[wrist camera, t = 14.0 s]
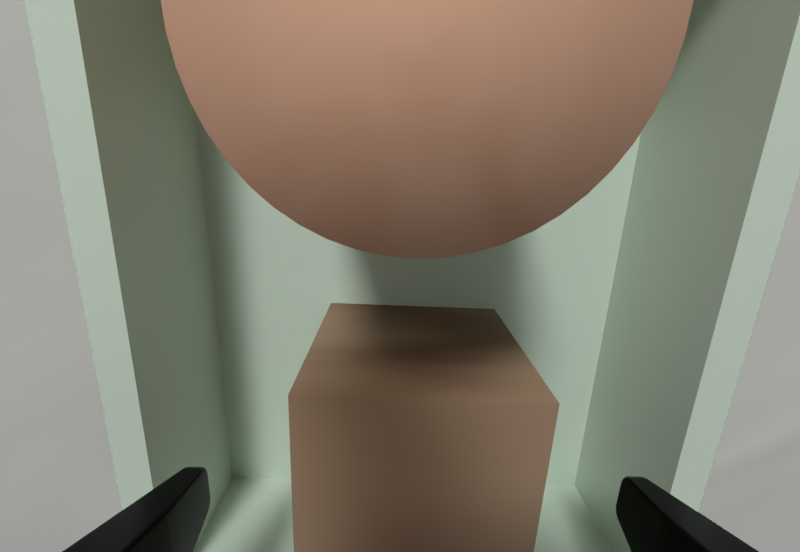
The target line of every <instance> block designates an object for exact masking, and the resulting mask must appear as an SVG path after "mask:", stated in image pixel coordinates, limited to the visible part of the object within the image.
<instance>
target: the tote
mask: <svg viewBox="0 0 800 552" xmlns="http://www.w3.org/2000/svg"><path fill="white" fill-rule="evenodd" d="M24 2H25V7H26V12H27V18H28V23H29V28H30V33H31V39H32V44H33V49H34V54H35V59H36V65H37V70H38V75H39V80H40V85H41V91H42V96H43V101H44V106H45V112H46V117H47V122H48V127H49V132H50V138H51V143H52V148H53V153H54V159H55V164H56V169H57V174H58V179H59V185H60V190H61V195H62V200H63V205H64V211H65V216H66V221H67V226H68V232H69V237H70V242H71V247H72V252H73V258H74V263H75V268H76V273H77V278H78V284H79V289H80V294H81V299H82V305H83V310H84V315H85V320H86V325H87V331H88V336H89V341H90V346H91V352H92V357H93V362H94V367H95V372H96V378H97V383H98V388H99V393H100V398H101V404H102V409H103V414H104V419H105V425H106V430H107V435H108V440H109V445H110V451H111V456H112V461H113V466H114V471H115V477H116V482H117V487H118V492H119V498H120V503H121V508H122V510H124V509H125V508H127V507H128V506H129V505H131V504H132V503H134V502H135V501H137V500H138V499H140V498H141V497H142V496H144V495H145V494H147V493H148V492H150V491H151V490H153V489H154V488H155V487H157V486H158V485H160V484H161V483H163V482H164V481H166V480H167V479H169V478H170V477H171V476H173V475H174V474H176V473H177V472H179V471H180V470H182V469H183V468H185V467H204V468H206V470H207V473H208V480H209V489H210V507H209V510H208V513H207V516H206V519H205V521H204V524H203V527H202V529H201V532H200V535H199V537H198V540H197V543H196V545H195V548H194V551H193V552H294V543H293V516H292V489H291V462H290V435H289V408H288V394H289V392H290V390H291V388H292V385H293V383H294V381H295V379H296V377H297V375H298V373H299V370H300V368H301V366H302V364H303V362H304V360H305V358H306V355H307V353H308V351H309V349H310V347H311V345H312V343H313V341H314V338H315V336H316V334H317V332H318V330H319V328H320V326H321V323H322V321H323V319H324V317H325V315H326V313H327V311H328V308H329V306H330V304H331V303H347V304H373V305H400V306H427V307H453V308H480V309H495V311H496V312H497V314H498V315H499V316H500V318H501V319H502V321H503V322H504V324H505V325H506V327H507V328H508V330H509V331H510V332H511V334H512V335H513V337H514V338H515V340H516V341H517V343H518V344H519V346H520V347H521V348H522V350H523V351H524V353H525V354H526V356H527V357H528V359H529V360H530V361H531V363H532V364H533V366H534V367H535V369H536V370H537V372H538V373H539V375H540V376H541V377H542V379H543V380H544V382H545V383H546V385H547V386H548V388H549V389H550V390H551V392H552V393H553V395H554V396H555V398H556V399H557V401H558V402H559V410H558V416H557V422H556V427H555V433H554V439H553V445H552V450H551V456H550V462H549V467H548V473H547V479H546V485H545V490H544V496H543V502H542V508H541V513H540V519H539V525H538V530H537V536H536V542H535V548H534V552H631V550H630V548H629V545H628V543H627V540H626V538H625V536H624V533H623V531H622V528H621V526H620V523H619V521H618V518H617V515H616V503H617V498H618V494H619V489H620V485H621V481H622V479H623V478H624V477H626V476H640V477H644V478H646V479H648V480H650V481H651V482H653V483H654V484H656V485H657V486H659V487H660V488H662V489H663V490H665V491H667V492H668V493H670V494H671V495H673V496H674V497H676V498H677V499H679V500H680V501H682V502H683V503H685V504H686V505H688V506H690V507H691V508H693V509H694V510H696V511H697V512H698V511H699V508H700V505H701V501H702V498H703V495H704V491H705V488H706V485H707V481H708V478H709V475H710V471H711V468H712V465H713V461H714V458H715V455H716V451H717V448H718V444H719V441H720V438H721V434H722V431H723V428H724V424H725V421H726V418H727V414H728V411H729V408H730V404H731V401H732V398H733V394H734V391H735V388H736V384H737V381H738V378H739V374H740V371H741V368H742V364H743V361H744V358H745V354H746V351H747V348H748V344H749V341H750V338H751V334H752V331H753V327H754V324H755V321H756V317H757V314H758V311H759V307H760V304H761V301H762V297H763V294H764V291H765V287H766V284H767V281H768V277H769V274H770V271H771V267H772V264H773V261H774V257H775V254H776V251H777V247H778V244H779V241H780V237H781V234H782V231H783V227H784V224H785V221H786V217H787V214H788V210H789V207H790V204H791V200H792V197H793V194H794V190H795V187H796V184H797V180H798V177H799V174H800V0H693V5H692V9H691V13H690V18H689V22H688V26H687V30H686V34H685V39H684V42H683V45H682V48H681V51H680V53H679V56H678V59H677V62H676V65H675V67H674V70H673V73H672V76H671V78H670V80H669V82H668V84H667V86H666V89H665V91H664V93H663V95H662V97H661V99H660V101H659V103H658V105H657V107H656V109H655V111H654V113H653V114H652V116H651V117H650V119H649V121H648V122H647V124H646V125H645V127H644V128H643V130H642V132H641V133H640V135H639V136H638V138H637V139H636V141H635V142H634V144H633V145H632V146H631V147H630V149H629V150H628V151H627V152H626V154H625V155H624V156H623V157H622V159H621V160H620V161H619V162H618V164H617V165H616V166H615V167H614V168H613V170H612V171H611V172H610V173H609V174H608V175H607V176H606V177H605V178H604V179H603V180H602V181H601V182H600V183H598V184H597V185H596V186H595V187H594V188H593V189H592V190H591V191H590V192H589V193H588V194H587V195H586V196H585V197H583V198H582V199H581V200H579V201H578V202H577V203H576V204H574V205H573V206H572V207H570V208H569V209H568V210H566V211H565V212H564V213H563V214H561V215H560V216H558V217H556V218H555V219H553V220H551V221H550V222H548V223H546V224H545V225H543V226H541V227H540V228H538V229H536V230H534V231H533V232H530V233H528V234H526V235H524V236H521V237H519V238H517V239H514V240H512V241H510V242H508V243H505V244H502V245H499V246H496V247H492V248H489V249H486V250H482V251H479V252H476V253H470V254H464V255H458V256H452V257H446V258H424V259H412V258H401V257H390V256H383V255H378V254H374V253H369V252H365V251H360V250H356V249H353V248H350V247H347V246H345V245H342V244H339V243H336V242H334V241H331V240H328V239H326V238H324V237H322V236H320V235H318V234H316V233H314V232H312V231H310V230H308V229H306V228H304V227H302V226H300V225H299V224H297V223H296V222H294V221H293V220H291V219H290V218H289V217H287V216H286V215H284V214H283V213H281V212H280V211H278V210H277V209H275V208H274V207H273V206H271V205H270V204H269V203H268V202H267V201H266V200H265V199H263V198H262V197H261V196H260V195H259V194H258V193H257V192H255V191H254V190H253V189H252V188H251V187H250V186H249V185H248V184H247V183H246V182H245V181H244V180H243V179H242V177H241V176H240V175H239V174H238V173H237V172H236V171H235V170H234V169H233V167H232V166H231V165H230V164H229V163H228V162H227V161H226V159H225V158H224V156H223V155H222V154H221V152H220V151H219V149H218V148H217V146H216V145H215V144H214V142H213V141H212V139H211V138H210V137H209V135H208V134H207V132H206V130H205V128H204V127H203V125H202V123H201V121H200V119H199V117H198V116H197V114H196V112H195V110H194V108H193V107H192V105H191V103H190V101H189V98H188V96H187V93H186V91H185V88H184V86H183V84H182V81H181V79H180V76H179V74H178V71H177V69H176V66H175V62H174V59H173V55H172V52H171V48H170V45H169V41H168V38H167V34H166V30H165V24H164V18H163V12H162V6H161V0H24Z"/></svg>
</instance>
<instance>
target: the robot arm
mask: <svg viewBox="0 0 800 552" xmlns="http://www.w3.org/2000/svg"><path fill="white" fill-rule="evenodd" d="M209 507H210V489H209V480H208V473H207V470H206V468H204V467H185V468H183V469H182V470H180V471H179V472H177V473H176V474H174V475H173V476H171V477H170V478H169V479H167V480H166V481H164V482H163V483H161V484H160V485H158V486H157V487H155V488H154V489H153V490H151V491H150V492H148V493H147V494H145V495H144V496H142V497H141V498H140V499H138V500H137V501H135V502H134V503H132V504H131V505H129V506H128V507H127V508H125V509H124V510H122V511H121V512H119V513H118V514H116V515H115V516H113V517H112V518H111V519H109V520H108V521H106V522H105V523H103V524H102V525H100V526H99V527H98V528H96V529H95V530H93V531H92V532H90V533H89V534H87V535H86V536H85V537H83V538H82V539H80V540H79V541H77V542H76V543H74V544H73V545H71V546H70V547H69V548H67V549H66V550H64V551H63V552H193V551H194V548H195V545H196V543H197V540H198V537H199V535H200V532H201V529H202V527H203V524H204V521H205V519H206V516H207V513H208V510H209ZM616 515H617V518H618V521H619V523H620V526H621V528H622V531H623V533H624V536H625V538H626V540H627V543H628V545H629V548H630V550H631V552H758V551H757V550H755V549H754V548H752V547H751V546H749V545H748V544H746V543H745V542H743V541H742V540H740V539H739V538H737V537H735V536H734V535H732V534H731V533H729V532H728V531H726V530H725V529H723V528H722V527H720V526H719V525H717V524H716V523H714V522H712V521H711V520H709V519H708V518H706V517H705V516H703V515H702V514H700V513H699V512H697V511H696V510H694V509H693V508H691V507H690V506H688V505H686V504H685V503H683V502H682V501H680V500H679V499H677V498H676V497H674V496H673V495H671V494H670V493H668V492H667V491H665V490H663V489H662V488H660V487H659V486H657V485H656V484H654V483H653V482H651V481H650V480H648V479H646V478H644V477H640V476H626V477H624V478H623V479H622V481H621V485H620V489H619V494H618V498H617V503H616Z"/></svg>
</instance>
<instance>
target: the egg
mask: <svg viewBox="0 0 800 552" xmlns="http://www.w3.org/2000/svg"><path fill="white" fill-rule="evenodd" d="M692 5H693V0H161V6H162V12H163V18H164V24H165V30H166V34H167V38H168V41H169V45H170V48H171V52H172V55H173V59H174V62H175V66H176V69H177V71H178V74H179V76H180V79H181V81H182V84H183V86H184V88H185V91H186V93H187V96H188V98H189V101H190V103H191V105H192V107H193V108H194V110H195V112H196V114H197V116H198V117H199V119H200V121H201V123H202V125H203V127H204V128H205V130H206V132H207V134H208V135H209V137H210V138H211V139H212V141H213V142H214V144H215V145H216V146H217V148H218V149H219V151H220V152H221V154H222V155H223V156H224V158H225V159H226V161H227V162H228V163H229V164H230V165H231V166H232V167H233V169H234V170H235V171H236V172H237V173H238V174H239V175H240V176H241V177H242V179H243V180H244V181H245V182H246V183H247V184H248V185H249V186H250V187H251V188H252V189H253V190H254V191H255V192H257V193H258V194H259V195H260V196H261V197H262V198H263V199H265V200H266V201H267V202H268V203H269V204H270V205H271V206H273V207H274V208H275V209H277V210H278V211H280V212H281V213H283V214H284V215H286V216H287V217H289V218H290V219H291V220H293V221H294V222H296V223H297V224H299V225H300V226H302V227H304V228H306V229H308V230H310V231H312V232H314V233H316V234H318V235H320V236H322V237H324V238H326V239H328V240H331V241H334V242H336V243H339V244H342V245H345V246H347V247H350V248H353V249H356V250H360V251H365V252H369V253H374V254H378V255H383V256H390V257H401V258H412V259H424V258H446V257H452V256H458V255H464V254H470V253H476V252H479V251H482V250H486V249H489V248H492V247H496V246H499V245H502V244H505V243H508V242H510V241H512V240H514V239H517V238H519V237H521V236H524V235H526V234H528V233H530V232H533V231H534V230H536V229H538V228H540V227H541V226H543V225H545V224H546V223H548V222H550V221H551V220H553V219H555V218H556V217H558V216H560V215H561V214H563V213H564V212H565V211H566V210H568V209H569V208H570V207H572V206H573V205H574V204H576V203H577V202H578V201H579V200H581V199H582V198H583V197H585V196H586V195H587V194H588V193H589V192H590V191H591V190H592V189H593V188H594V187H595V186H596V185H597V184H598V183H600V182H601V181H602V180H603V179H604V178H605V177H606V176H607V175H608V174H609V173H610V172H611V171H612V170H613V168H614V167H615V166H616V165H617V164H618V162H619V161H620V160H621V159H622V157H623V156H624V155H625V154H626V152H627V151H628V150H629V149H630V147H631V146H632V145H633V144H634V142H635V141H636V139H637V138H638V136H639V135H640V133H641V132H642V130H643V128H644V127H645V125H646V124H647V122H648V121H649V119H650V117H651V116H652V114H653V113H654V111H655V109H656V107H657V105H658V103H659V101H660V99H661V97H662V95H663V93H664V91H665V89H666V86H667V84H668V82H669V80H670V78H671V76H672V73H673V70H674V67H675V65H676V62H677V59H678V56H679V53H680V51H681V48H682V45H683V42H684V39H685V34H686V30H687V26H688V22H689V18H690V13H691V9H692Z"/></svg>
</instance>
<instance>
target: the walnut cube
mask: <svg viewBox="0 0 800 552" xmlns="http://www.w3.org/2000/svg"><path fill="white" fill-rule="evenodd" d="M288 408H289V435H290V462H291V489H292V516H293V543H294V552H534V548H535V542H536V536H537V530H538V525H539V519H540V513H541V508H542V502H543V496H544V490H545V485H546V479H547V473H548V467H549V462H550V456H551V450H552V445H553V439H554V433H555V427H556V422H557V416H558V410H559V402H558V401H557V399H556V398H555V396H554V395H553V393H552V392H551V390H550V389H549V388H548V386H547V385H546V383H545V382H544V380H543V379H542V377H541V376H540V375H539V373H538V372H537V370H536V369H535V367H534V366H533V364H532V363H531V361H530V360H529V359H528V357H527V356H526V354H525V353H524V351H523V350H522V348H521V347H520V346H519V344H518V343H517V341H516V340H515V338H514V337H513V335H512V334H511V332H510V331H509V330H508V328H507V327H506V325H505V324H504V322H503V321H502V319H501V318H500V316H499V315H498V314H497V312H496V311H495V309H480V308H453V307H427V306H400V305H373V304H347V303H331V304H330V306H329V308H328V311H327V313H326V315H325V317H324V319H323V321H322V323H321V326H320V328H319V330H318V332H317V334H316V336H315V338H314V341H313V343H312V345H311V347H310V349H309V351H308V353H307V355H306V358H305V360H304V362H303V364H302V366H301V368H300V370H299V373H298V375H297V377H296V379H295V381H294V383H293V385H292V388H291V390H290V392H289V394H288Z"/></svg>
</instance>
